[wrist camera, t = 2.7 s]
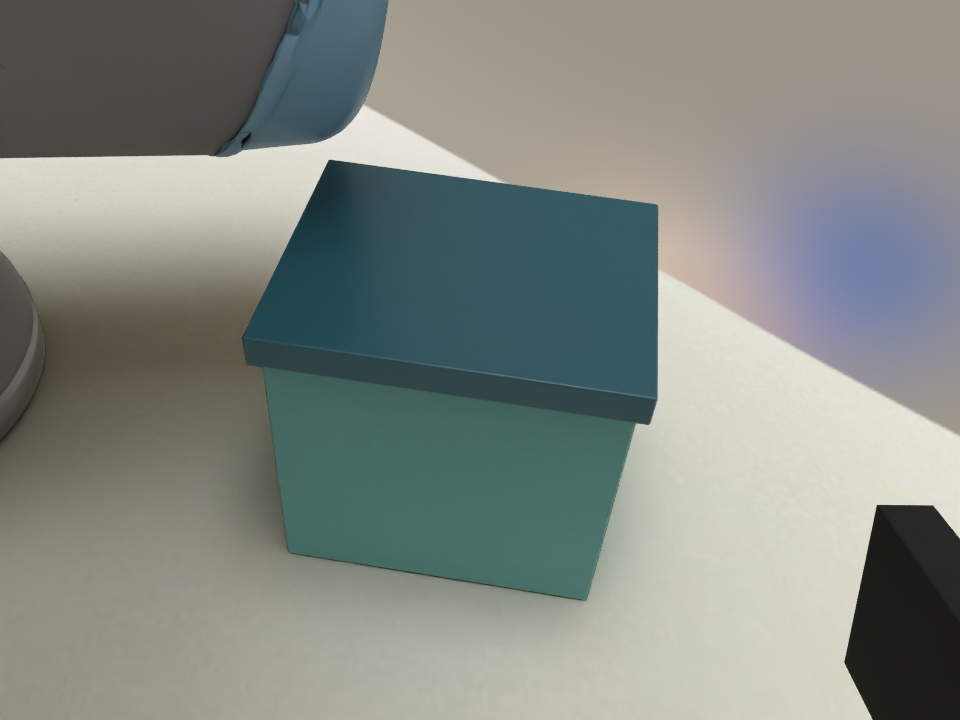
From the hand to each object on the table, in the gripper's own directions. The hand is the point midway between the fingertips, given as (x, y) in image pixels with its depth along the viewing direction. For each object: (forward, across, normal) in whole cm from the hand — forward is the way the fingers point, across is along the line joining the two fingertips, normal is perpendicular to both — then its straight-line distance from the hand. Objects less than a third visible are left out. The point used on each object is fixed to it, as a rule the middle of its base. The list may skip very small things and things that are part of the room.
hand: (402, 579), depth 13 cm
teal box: (+18, 0, -9) cm, 20 cm away
